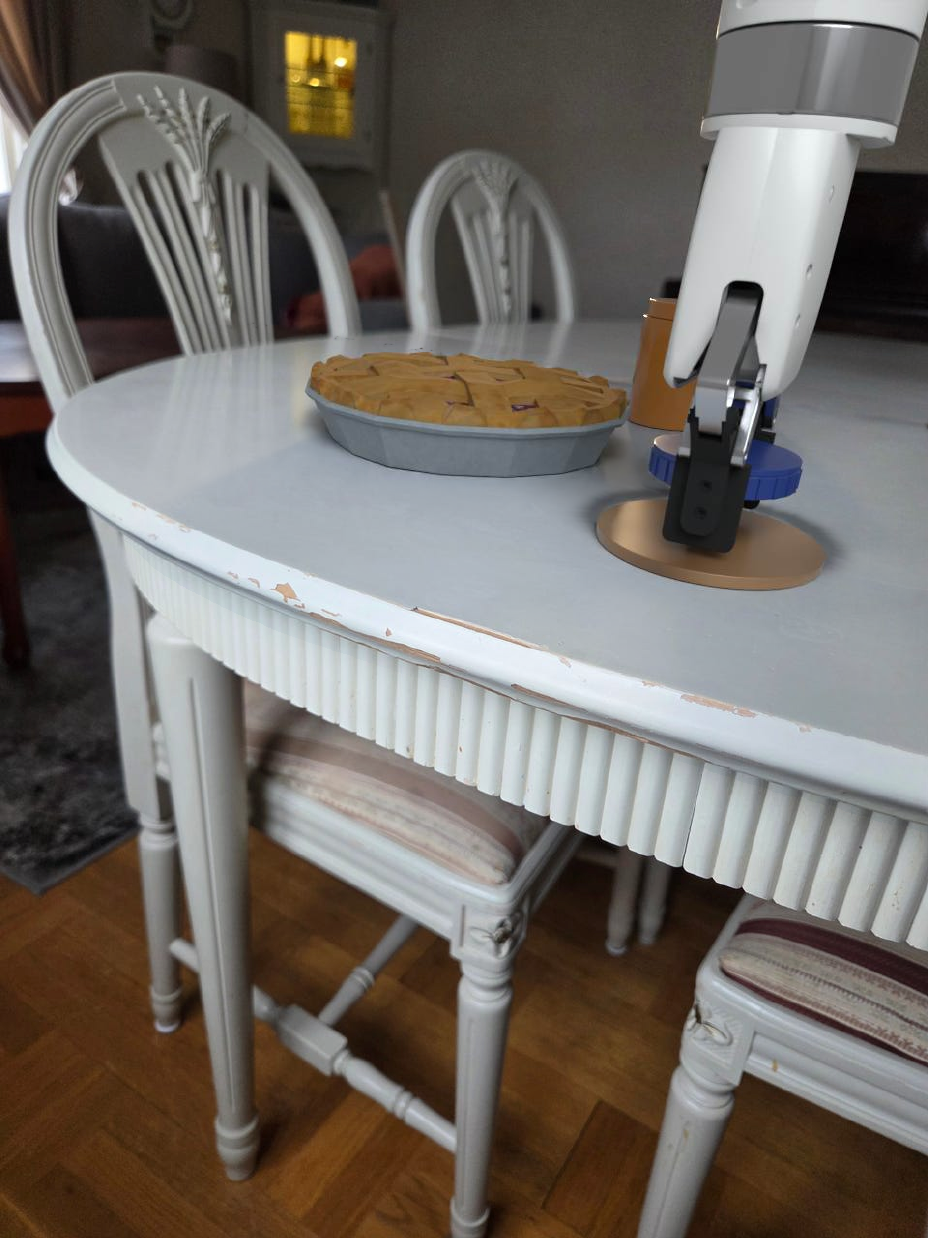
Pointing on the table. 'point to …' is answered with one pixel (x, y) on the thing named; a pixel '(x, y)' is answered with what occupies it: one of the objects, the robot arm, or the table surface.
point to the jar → (657, 373)
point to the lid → (770, 463)
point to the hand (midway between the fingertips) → (713, 519)
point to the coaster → (754, 562)
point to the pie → (466, 413)
